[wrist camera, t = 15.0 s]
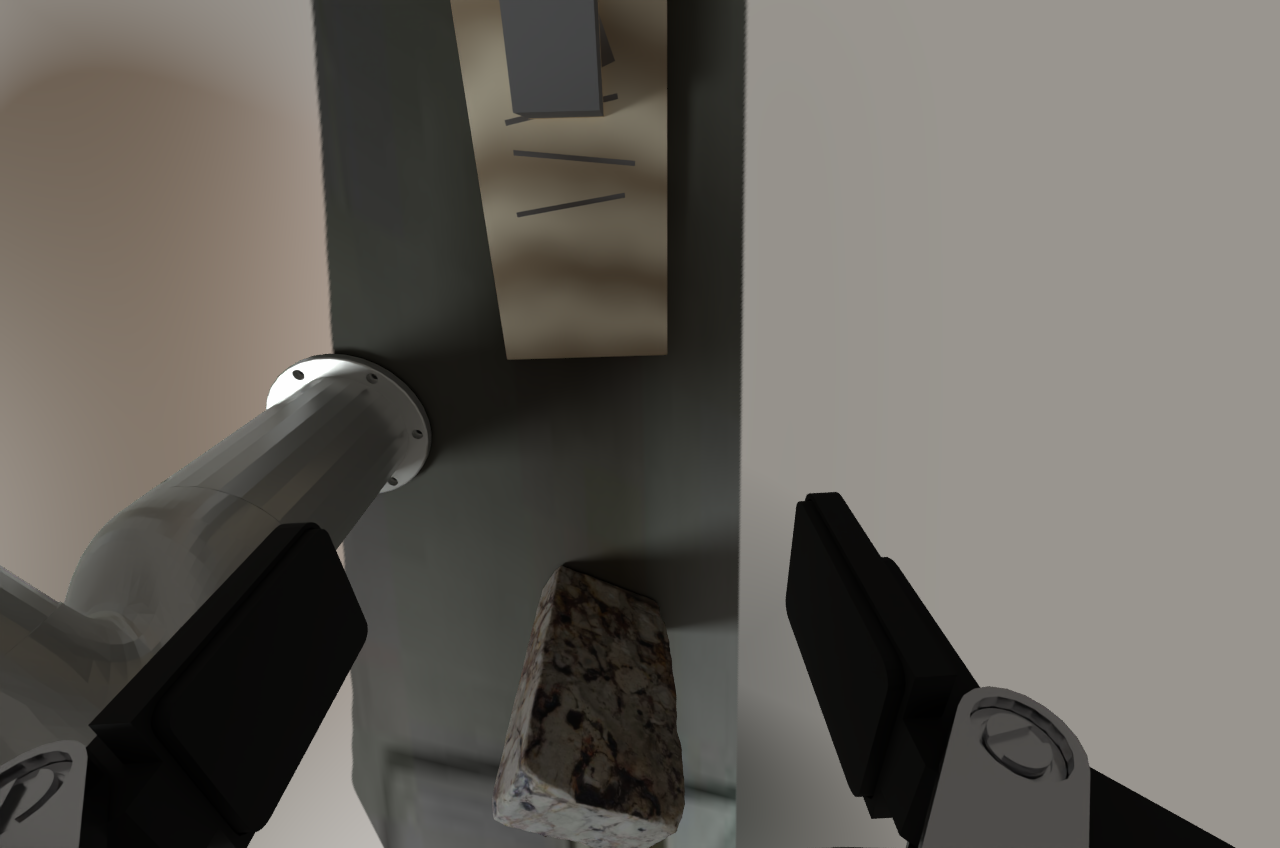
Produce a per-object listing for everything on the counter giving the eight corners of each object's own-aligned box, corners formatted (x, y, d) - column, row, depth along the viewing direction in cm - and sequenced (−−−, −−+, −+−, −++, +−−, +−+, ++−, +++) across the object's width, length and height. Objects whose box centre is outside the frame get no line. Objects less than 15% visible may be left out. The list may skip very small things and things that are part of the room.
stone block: (532, 602, 52) (481, 832, 34) (556, 555, 49) (513, 779, 31) (648, 637, 55) (657, 867, 37) (677, 595, 52) (701, 822, 34)
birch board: (665, 347, 39) (667, 354, 38) (511, 352, 39) (507, 359, 38) (665, -65, 28) (666, -77, 27) (448, -59, 28) (439, -71, 27)
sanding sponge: (603, 117, 31) (599, 110, 26) (529, 119, 31) (512, 112, 26) (595, -59, 27) (588, -101, 22) (510, -56, 27) (487, -99, 22)
